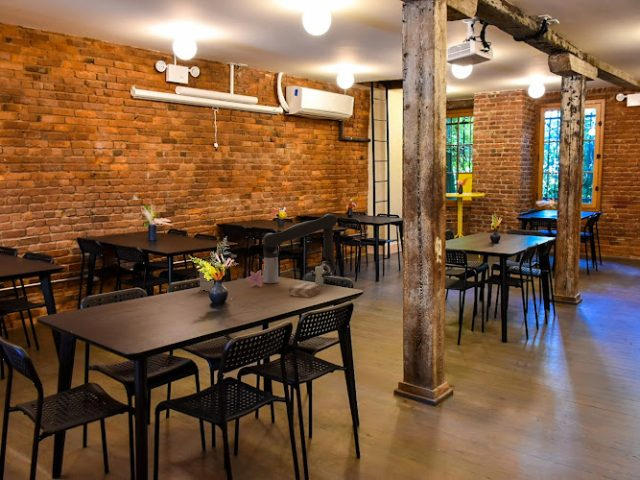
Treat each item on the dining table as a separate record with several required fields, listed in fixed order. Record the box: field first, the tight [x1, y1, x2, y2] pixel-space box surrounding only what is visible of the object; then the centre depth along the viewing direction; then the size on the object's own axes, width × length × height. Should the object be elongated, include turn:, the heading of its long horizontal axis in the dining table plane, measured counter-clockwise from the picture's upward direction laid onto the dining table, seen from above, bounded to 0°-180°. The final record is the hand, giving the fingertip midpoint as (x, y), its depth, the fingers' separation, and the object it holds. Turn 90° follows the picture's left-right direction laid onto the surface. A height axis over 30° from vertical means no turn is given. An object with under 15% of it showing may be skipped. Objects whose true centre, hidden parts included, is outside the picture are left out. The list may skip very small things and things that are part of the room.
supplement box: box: [199, 262, 214, 292], centre depth 376 cm, size 10×9×17 cm
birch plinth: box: [288, 282, 321, 298], centre depth 359 cm, size 14×14×5 cm
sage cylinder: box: [314, 265, 324, 288], centre depth 373 cm, size 5×5×12 cm
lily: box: [244, 269, 266, 288], centre depth 388 cm, size 12×12×10 cm
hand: (318, 275), depth 370 cm, fingers closed on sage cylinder, 5 cm apart
